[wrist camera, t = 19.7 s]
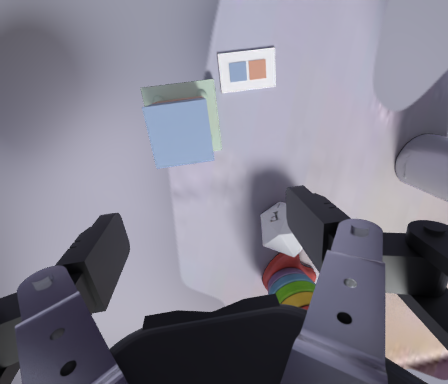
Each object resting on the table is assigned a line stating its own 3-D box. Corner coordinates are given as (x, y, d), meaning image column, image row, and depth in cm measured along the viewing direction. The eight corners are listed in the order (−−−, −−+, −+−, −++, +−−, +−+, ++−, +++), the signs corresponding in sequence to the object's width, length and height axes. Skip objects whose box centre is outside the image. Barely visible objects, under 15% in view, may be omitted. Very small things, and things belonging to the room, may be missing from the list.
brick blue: (203, 97, 28) (206, 99, 23) (210, 147, 31) (214, 160, 25) (152, 104, 28) (142, 107, 22) (163, 154, 30) (156, 168, 25)
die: (304, 191, 44) (295, 196, 35) (324, 238, 43) (319, 256, 34) (262, 207, 47) (244, 215, 39) (279, 250, 47) (265, 269, 38)
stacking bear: (318, 274, 51) (376, 360, 35) (279, 301, 53) (318, 395, 37) (290, 244, 47) (341, 325, 31) (250, 274, 49) (278, 366, 33)
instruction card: (274, 47, 34) (275, 47, 33) (275, 86, 36) (276, 86, 35) (217, 54, 33) (217, 53, 33) (221, 93, 35) (221, 93, 35)
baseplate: (213, 79, 34) (213, 78, 33) (221, 148, 38) (222, 150, 37) (141, 87, 34) (140, 87, 32) (157, 157, 38) (156, 159, 36)
